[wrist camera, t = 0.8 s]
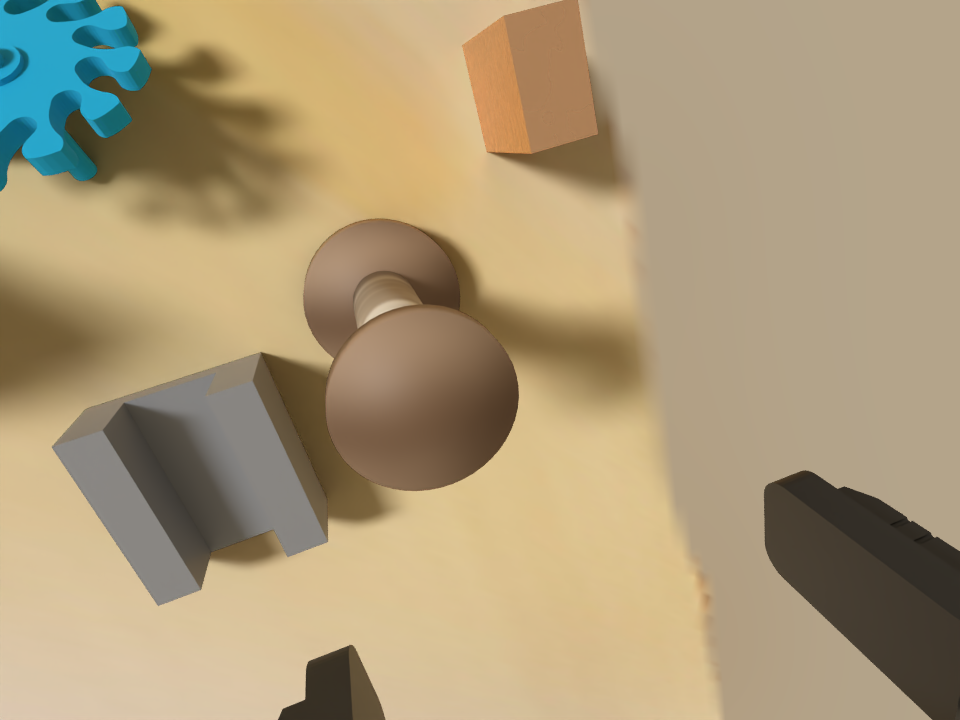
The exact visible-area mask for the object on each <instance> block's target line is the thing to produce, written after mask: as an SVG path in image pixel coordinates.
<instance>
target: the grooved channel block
mask: <svg viewBox="0 0 960 720" xmlns="http://www.w3.org/2000/svg"><path fill="white" fill-rule="evenodd" d="M52 448H53V450H54V451H55V453H56V454H57V456H58V457H59V459H60V460H61V462H62V463H63V465H64V466H65V468H66V469H67V471H68V472H69V474H70V475H71V477H72V478H73V480H74V481H75V483H76V484H77V486H78V487H79V489H80V490H81V492H82V493H83V495H84V496H85V498H86V499H87V501H88V502H89V504H90V505H91V507H92V508H93V510H94V511H95V513H96V514H97V516H98V517H99V518H100V520H101V521H102V523H103V524H104V526H105V527H106V529H107V530H108V532H109V533H110V535H111V536H112V538H113V539H114V541H115V542H116V544H117V545H118V547H119V548H120V550H121V551H122V553H123V554H124V556H125V557H126V559H127V560H128V562H129V563H130V565H131V566H132V568H133V569H134V571H135V572H136V574H137V575H138V577H139V578H140V580H141V581H142V583H143V584H144V586H145V587H146V589H147V590H148V592H149V593H150V595H151V596H152V598H153V599H154V600H155V602H156V603H157V605H158V606H159V605H162V604H165V603H167V602H170V601H173V600H175V599H178V598H181V597H183V596H186V595H189V594H191V593H194V592H196V591H199V590H201V588H202V584H203V581H204V577H205V573H206V570H207V566H208V562H209V559H210V555H211V552H213V551H216V550H219V549H221V548H224V547H227V546H230V545H232V544H235V543H238V542H240V541H243V540H246V539H249V538H251V537H254V536H257V535H259V534H262V533H265V532H268V531H270V530H273V529H274V531H275V533H276V535H277V537H278V539H279V541H280V543H281V545H282V547H283V549H284V551H285V553H286V555H287V557H289V556H292V555H295V554H297V553H300V552H303V551H305V550H308V549H311V548H313V547H316V546H319V545H321V544H324V543H327V542H328V508H327V498H326V496H325V493H324V491H323V489H322V487H321V484H320V482H319V480H318V478H317V476H316V473H315V471H314V469H313V467H312V465H311V462H310V460H309V458H308V456H307V453H306V451H305V449H304V447H303V445H302V442H301V440H300V438H299V436H298V433H297V431H296V429H295V427H294V425H293V422H292V420H291V418H290V416H289V414H288V411H287V409H286V407H285V405H284V402H283V400H282V398H281V396H280V394H279V391H278V389H277V387H276V385H275V383H274V380H273V378H272V376H271V374H270V371H269V369H268V367H267V365H266V363H265V360H264V358H263V356H262V354H261V352H260V353H257V354H254V355H251V356H248V357H245V358H242V359H239V360H236V361H233V362H229V363H226V364H223V365H220V366H217V367H214V368H211V369H208V370H205V371H202V372H199V373H195V374H192V375H189V376H186V377H183V378H180V379H177V380H174V381H171V382H168V383H165V384H161V385H158V386H155V387H152V388H149V389H146V390H143V391H140V392H137V393H134V394H131V395H127V396H124V397H121V398H118V399H115V400H112V401H109V402H106V403H103V404H100V405H97V406H93V407H90V408H87V409H85V410H84V411H83V413H82V414H81V415H80V416H79V417H78V418H77V419H76V420H75V422H74V423H73V424H72V425H71V426H70V427H69V428H68V429H67V430H66V432H65V433H64V434H63V435H62V436H61V437H60V438H59V439H58V441H57V442H56V443H55V444H54V445H53V446H52Z"/></svg>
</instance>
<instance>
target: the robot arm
mask: <svg viewBox="0 0 960 720" xmlns="http://www.w3.org/2000/svg"><path fill="white" fill-rule="evenodd" d="M764 509H765V510H764V513H765V514H764V515H765V547H766V551H767V554H768V556H769V558H770V560H771V562H772V564H773V566H774V567H775V569H776V570H777V571H778V573H779V574H780V575H781V576H782V577H783V578H784V579H785V580H786V581H787V582H788V583H789V584H790V585H791V586H792V587H793V588H794V589H795V590H796V591H798V592H799V593H800V594H801V595H802V596H803V597H804V598H805V599H806V600H807V601H808V602H809V603H810V604H811V605H812V606H813V607H814V608H815V609H817V611H819V612H820V613H821V614H822V615H823V616H824V617H825V618H826V619H827V620H828V621H829V622H830V623H831V624H832V625H833V626H834V627H835V628H837V630H839V631H840V632H841V633H842V634H843V635H844V636H845V637H846V638H847V639H848V640H849V641H850V642H851V643H852V644H853V645H854V646H855V647H856V648H858V649H859V650H860V651H861V652H862V653H863V654H864V655H865V656H866V657H867V658H868V659H869V660H870V661H871V662H872V663H873V664H874V665H875V666H876V667H877V668H879V669H880V670H881V671H882V672H883V673H884V674H885V675H886V676H887V677H888V678H889V679H890V680H891V681H892V682H893V683H894V684H895V685H896V686H897V687H899V688H900V689H901V690H902V691H903V692H904V693H905V694H906V695H907V696H908V697H909V698H910V699H911V700H912V701H913V702H914V703H916V705H918V706H919V707H920V708H921V709H922V710H923V711H924V712H925V713H926V714H927V715H928V716H929V717H930V718H931V719H932V720H960V551H958V550H957V549H955V548H954V547H952V546H950V545H949V544H947V543H946V542H944V541H943V540H941V539H940V538H938V537H936V538H934V537H933V536H932V535H931V533H930V532H929V531H927V530H926V529H924V528H923V527H921V526H920V525H918V524H917V523H915V522H913V521H911V522H910V521H908V519H907V517H906V516H904V515H903V514H901V513H900V512H898V511H896V510H895V509H893V508H892V507H890V506H889V505H887V504H885V503H884V502H882V501H881V500H879V499H877V498H875V497H872V496H869V495H867V494H864V493H861V492H858V491H855V490H853V489H850V488H847V487H842V488H839V489H837V488H835V487H834V486H832V485H831V484H829V483H828V482H826V481H825V480H823V479H822V478H821V477H819V476H818V475H816V474H814V473H812V472H809V471H800V472H798V473H796V474H793V475H790V476H788V477H785V478H783V479H780V480H777V481H775V482H772V483H770V484H768V485H767V486H766V487H765V490H764ZM278 720H385V717H384V713H383V710H382V707H381V704H380V701H379V699H378V696H377V694H376V692H375V690H374V688H373V686H372V683H371V681H370V679H369V677H368V675H367V673H366V671H365V668H364V666H363V664H362V662H361V660H360V658H359V655H358V653H357V651H356V649H355V648H354V646H353V645H349V646H347V647H344V648H342V649H339V650H337V651H334V652H331V653H329V654H326V655H324V656H321V657H319V658H316V659H313V660H311V661H309V662H308V664H307V668H306V697H305V700H304V701H301V702H299V703H296V704H294V705H291V706H289V707H286V708H284V709H283V710H282V712H281V714H280V717H279V719H278Z"/></svg>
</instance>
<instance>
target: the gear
mask: <svg viewBox="0 0 960 720" xmlns="http://www.w3.org/2000/svg"><path fill="white" fill-rule="evenodd" d="M98 45H107V46H110V47H113V48H115V49H95V48H92V47H94V46H98ZM137 45H138V35H137V32H136V30H135V28H134V26H133V24H132V22H131V20H130V19H129V17H128V15H127V13H126V12H125V10H124V8H123V7H121V6H114V7H110V8H107V9H105V10H103V11H102V10H101V8H100V7H99V5H98V3H97V2H96V0H0V191H2V189H3V188H4V187H5V185H6V183H7V169H8V165H9V163H10V160H11V159H12V157H13V155H14V154H15V153H16V152H17V150H18V149H19V148H20V147H21V146H22V145H23V144H24V145H23V147H22V154H23V156H24V157H25V158H26V159H27V160H28V161H29V162H30V163H31V164H32V165H33V166H34V167H35V168H36V169H37V170H38V171H39V172H40V173H41V174H42V175H43V176H46V175H54V174H59V173H62V172H66V171H69V172H70V173H71V174H72V176H73V177H74V178H75V179H77V180H80V181H85V180H89V179H91V178H92V177H94V176H95V174H96V173H97V167H96V165H95V164H94V163H93V162H92V161H91V159H90V158H89V157H88V156H87V155H86V154H85V152H84V151H83V150H82V149H81V148H80V146H79V145H78V144H77V143H76V142H75V141H74V139H73V138H72V137H71V136H70V135H69V133H68V132H67V131H66V130H65V129H64V128H65V123H66V119H67V117H68V116H69V115H70V114H71V113H72V112H74V111H76V110H79V109H80V111H81V114H82V115H83V117H84V118H85V119H86V120H87V122H88V123H89V124H90V126H91V127H92V128H93V129H94V131H95V132H96V133H97V134H98V135H99V136H101V137H104V138H108V137H110V136H113V135H114V134H116V133H118V132H119V131H121V130H122V129H123V128H125V127H126V126H127V125H128V124H129V123H130V122H131V121H132V118H131V116H130V115H129V113H128V112H127V110H126V109H125V108H124V106H123V105H122V103H121V102H120V100H119V99H118V97H117V96H115V95H114V94H112V93H108V92H101V91H98V90H95V89H92V88H90V87H88V86H89V84H90V82H91V81H92V80H94V79H95V78H97V77H100V76H111V77H113V78H115V79H116V80H117V82H118V83H119V85H120V86H121V87H122V88H124V89H126V90H130V91H137V90H140V89H141V88H142V87H143V86H144V85H145V84H146V82H147V80H148V78H149V76H150V73H151V70H152V69H151V67H150V66H149V64H148V62H147V60H146V59H145V57H144V55H143V54H142V52H141V50H140V49H138V48H136V47H135V46H137Z"/></svg>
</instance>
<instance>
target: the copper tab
mask: <svg viewBox="0 0 960 720" xmlns="http://www.w3.org/2000/svg"><path fill="white" fill-rule="evenodd" d="M462 47H463V51H464V55H465V60H466V64H467V68H468V73H469V77H470V81H471V86H472V90H473V94H474V99H475V103H476V107H477V112H478V116H479V120H480V124H481V129H482V133H483V137H484V142H485V146H486V150H487V152H502V153H525V154H533V153H536V152H539V151H543V150H546V149H550V148H553V147H556V146H560V145H563V144H567V143H570V142H573V141H577V140H580V139H584V138H587V137H590V136H594V135H597V134H598V129H597V122H596V116H595V109H594V103H593V96H592V90H591V83H590V77H589V70H588V64H587V57H586V51H585V44H584V38H583V31H582V25H581V18H580V12H579V5H578V0H563V1H559V2H556V3H552V4H548V5H544V6H540V7H536V8H532V9H528V10H524V11H520V12H517V13H513V14H509V15H505V16H503V17H501V18H500V19H499V20H497V21H496V22H494V23H493V24H492V25H490V26H489V27H487V28H486V29H485V30H483V31H482V32H480V33H479V34H478V35H476V36H475V37H473V38H472V39H471V40H469V41H468V42H466V43H465V44H464V45H462Z"/></svg>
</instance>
